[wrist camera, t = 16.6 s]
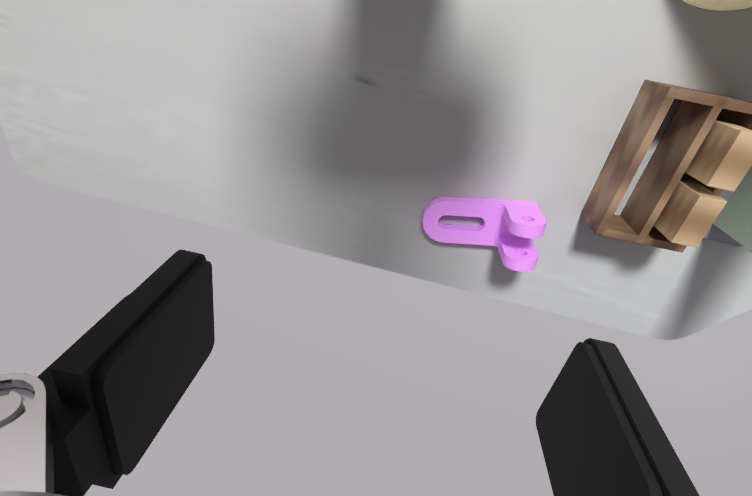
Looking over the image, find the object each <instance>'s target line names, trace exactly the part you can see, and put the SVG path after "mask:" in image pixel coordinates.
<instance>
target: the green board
mask: <svg viewBox="0 0 752 496" xmlns="http://www.w3.org/2000/svg"><path fill="white" fill-rule="evenodd" d="M713 224H714V225H715V226H717V227H718V228H720V229H721V230H722V231H724V232H725V233H726V234H728V235H729V236H730V237H732V238H733V239H734V240H736V241H737V242H738V243H740V244H741V245H742V246H744V247H745V248H746V249H748V250H749V251H750V252H752V166H751V167H750V169H749V170H748V172H747V173H746V175H745V176H744V178H743V179H742V181H741V182H740V184H739V185H738V187H737V188H736V190H735V191H734V192H733V194H732V195H731V197H730V198H729V200H728V202H727V203H726V205H725V206H724V208H723V209H722V211H721V212H720V213H719V215H718V216H717V218H716V219H715V221H714V222H713Z"/></svg>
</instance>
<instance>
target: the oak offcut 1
mask: <svg viewBox="0 0 752 496" xmlns="http://www.w3.org/2000/svg"><path fill="white" fill-rule="evenodd" d="M751 166H752V130H750V129H747V128H744V127H742V126H739V125H736V124H733V123H730V122H728V121H725V120H722V119H719V118H717V119H716V120H715V122H714V124H713V125H712V127H711V129H710V130H709V132H708V134H707V135H706V137H705V139H704V141H703V142H702V144H701V146H700V147H699V149H698V151H697V152H696V154H695V156H694V158H693V159H692V161H691V163H690V164H689V166H688V168H687V169H686V171H685V172H686V173H687V174H689V175H690V176H692V177H694V178H695V179H697V180H698V181H700V182H702V183H703V184H705V185H706V186H711V187H715V188H720V189H725V190H730V191H735V190H736V188H737V187H738V185H739V184H740V182H741V181H742V179H743V178H744V176H745V175H746V173H747V172H748V170H749V169H750V167H751Z"/></svg>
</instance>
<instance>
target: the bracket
mask: <svg viewBox="0 0 752 496" xmlns="http://www.w3.org/2000/svg"><path fill="white" fill-rule="evenodd" d="M444 215H450V216H467V217H480V218H482V219H483V220H484V222H483V223H482V224H481V225H480V226H459V225H444V224H441V223H440V222H439V221H438V220H439V218H440V217H442V216H444ZM545 225H546V219H545V217H544V216H543V214H542V212H541V210H540V208H539V206H538V205H537V203H536V201H517V200H499V199H480V198H461V197H440V198H437V199H435V200H433V201H431V202H430V203H429V204H428V205H427V206H426V208H425V210H424V213H423V228H424V231H425V232H426V234H427V235H428V236H429V237H430V238H432V239H433V240H435V241H438V242H443V243H458V244H474V245H489V246H496V247H498V250H499V254H500V257H501V261H502V263H503V265H504V266H506V267H507V268H509V269H511V270H514V271H519V272H528V271H532V270H533V269H535V267H536V263H537V259H538V253H537V250H536V248H535V246H534V244H533V241H532V239H531V238H538V237H541V236H542V235H543V233H544V229H545Z"/></svg>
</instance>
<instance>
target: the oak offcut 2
mask: <svg viewBox="0 0 752 496" xmlns="http://www.w3.org/2000/svg"><path fill="white" fill-rule="evenodd" d="M727 202H728V201H726V200H724V199H723V198H721V197H720V196H718V195H717V194H715V193H713V192H712V191H710V190H709V189H707V188H705V187H704V186H702V185H701V184H699V183H698V182H696V181H694V180H693V179H691V178H690V177H688V176H686V175H685V174H683V176H682V178H681V180H680V181H679V183H678V185H677V186H676V188H675V190H674V191H673V193H672V195H671V196H670V198H669V200H668V202H667V203H666V205H665V207H664V208H663V210H662V212H661V213H660V215H659V217H658V218H657V220H656V222H655V224H654V225H653V226H655V227H656V228H657V229H658V230H659V231H660V232H661V233H662V234H663V235H664V236H665V237H666V238H667V239H668V240H669V241H670V242H672V243H677V244H681V245H686V246H691V247H696V248H697V246H698V245H699V243H700V242H701V240H702V239H703V237H704V236H705V234H706V233H707V231H708V230H709V228H710V227H711V225H712V224H713V222H714V221H715V219H716V218H717V216H718V215H719V213H720V212H721V211H722V209H723V208H724V206H725V205H726V203H727Z"/></svg>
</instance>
